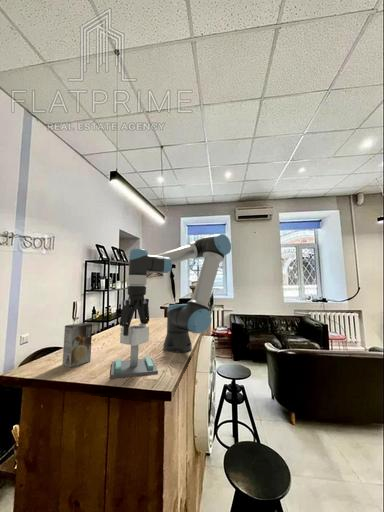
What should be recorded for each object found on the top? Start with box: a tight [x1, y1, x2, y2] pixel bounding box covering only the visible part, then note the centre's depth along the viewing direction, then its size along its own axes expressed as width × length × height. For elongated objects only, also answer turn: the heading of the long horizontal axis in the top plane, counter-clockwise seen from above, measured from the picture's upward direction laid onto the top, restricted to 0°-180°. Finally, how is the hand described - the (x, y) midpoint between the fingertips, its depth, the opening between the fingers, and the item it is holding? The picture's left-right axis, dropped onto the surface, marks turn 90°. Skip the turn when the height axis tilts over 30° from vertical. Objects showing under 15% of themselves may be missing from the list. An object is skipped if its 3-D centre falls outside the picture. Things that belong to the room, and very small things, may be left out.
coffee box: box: [61, 322, 93, 368], centre depth 99 cm, size 9×6×16 cm
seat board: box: [110, 345, 159, 379], centre depth 93 cm, size 17×16×10 cm
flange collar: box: [119, 324, 150, 346], centre depth 94 cm, size 8×8×6 cm
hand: (134, 341), depth 94 cm, fingers closed on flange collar, 8 cm apart
